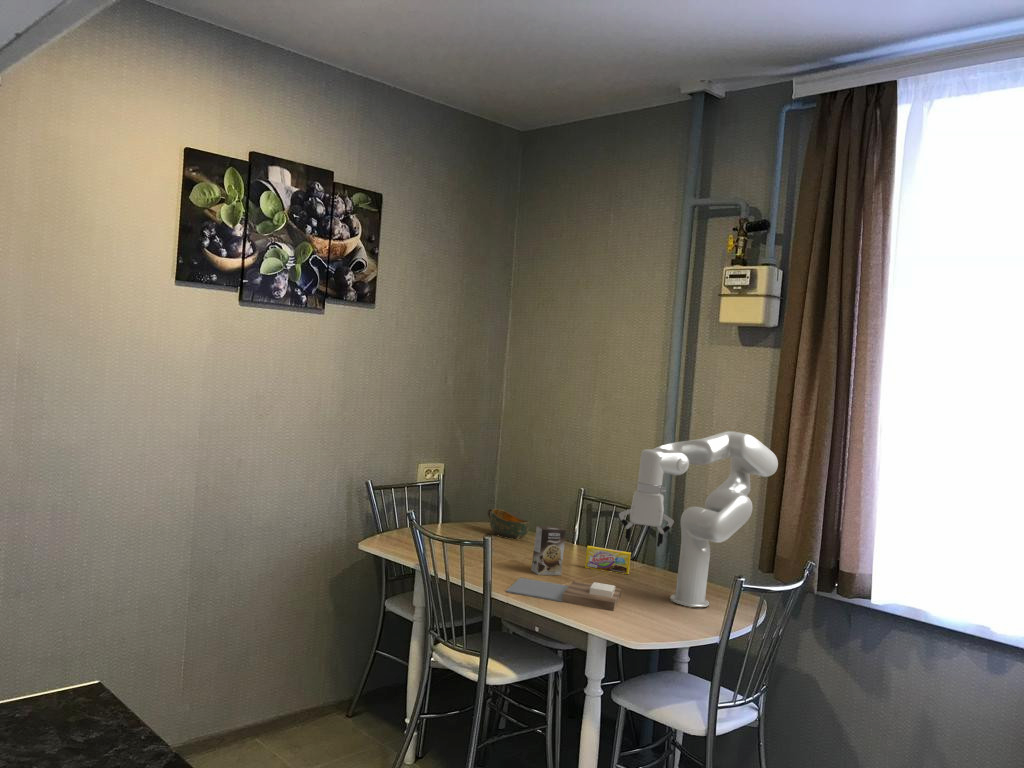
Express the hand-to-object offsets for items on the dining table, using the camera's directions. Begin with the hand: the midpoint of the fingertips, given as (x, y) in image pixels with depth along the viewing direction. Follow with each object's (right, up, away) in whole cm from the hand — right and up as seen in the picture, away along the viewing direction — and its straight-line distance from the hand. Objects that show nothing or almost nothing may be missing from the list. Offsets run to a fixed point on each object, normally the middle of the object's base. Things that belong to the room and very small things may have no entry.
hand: (643, 543), depth 262 cm
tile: (-13, -16, +3) cm, 21 cm away
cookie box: (-29, -17, +32) cm, 47 cm away
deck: (-16, -19, +4) cm, 25 cm away
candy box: (-7, -19, +45) cm, 49 cm away
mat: (-32, -17, +8) cm, 37 cm away
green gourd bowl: (-44, -14, +89) cm, 100 cm away
